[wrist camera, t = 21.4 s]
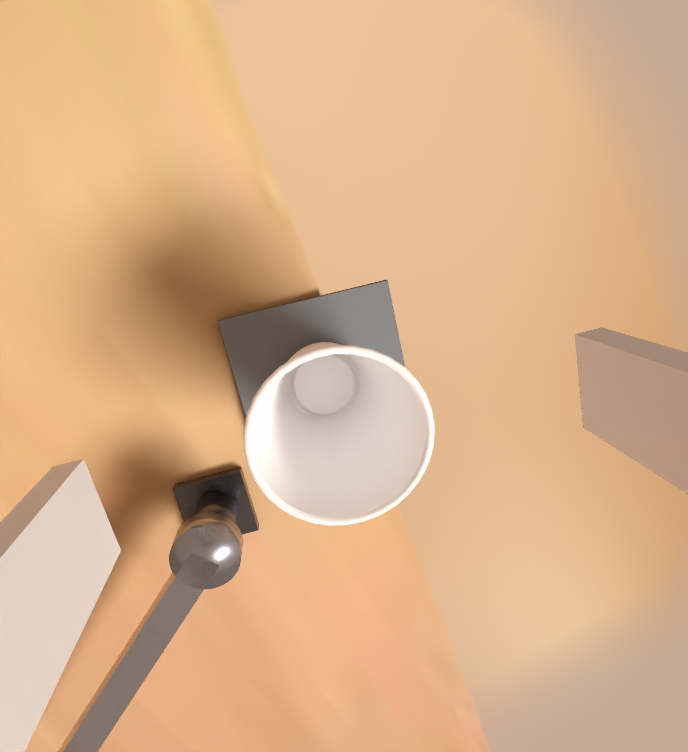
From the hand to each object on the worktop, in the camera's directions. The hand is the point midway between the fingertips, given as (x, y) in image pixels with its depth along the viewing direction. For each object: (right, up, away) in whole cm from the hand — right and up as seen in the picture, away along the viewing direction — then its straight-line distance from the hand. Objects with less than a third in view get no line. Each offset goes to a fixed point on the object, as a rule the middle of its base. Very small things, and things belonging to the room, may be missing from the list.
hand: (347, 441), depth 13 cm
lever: (-15, -18, +22) cm, 32 cm away
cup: (-2, +1, +24) cm, 24 cm away
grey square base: (-10, -8, +25) cm, 28 cm away
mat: (-2, +1, +24) cm, 24 cm away
